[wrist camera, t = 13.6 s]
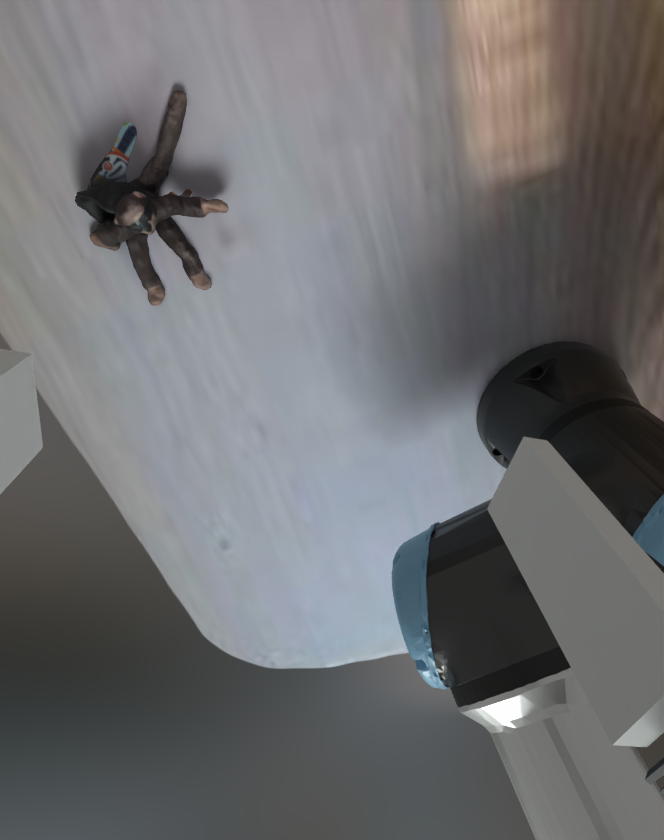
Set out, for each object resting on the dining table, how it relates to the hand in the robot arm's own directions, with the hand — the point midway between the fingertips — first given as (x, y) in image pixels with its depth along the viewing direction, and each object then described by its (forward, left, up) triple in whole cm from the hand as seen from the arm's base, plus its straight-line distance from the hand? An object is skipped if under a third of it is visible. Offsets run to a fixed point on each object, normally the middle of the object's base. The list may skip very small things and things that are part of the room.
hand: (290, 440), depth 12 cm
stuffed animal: (+11, -1, -31) cm, 33 cm away
